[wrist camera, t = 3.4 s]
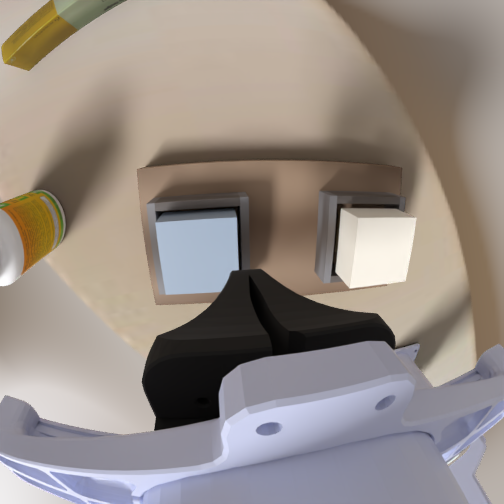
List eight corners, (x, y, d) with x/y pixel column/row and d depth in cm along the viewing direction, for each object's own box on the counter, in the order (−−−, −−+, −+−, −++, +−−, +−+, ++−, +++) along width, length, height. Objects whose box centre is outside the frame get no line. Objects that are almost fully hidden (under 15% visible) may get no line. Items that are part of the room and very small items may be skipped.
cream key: (387, 267, 19) (405, 281, 17) (335, 272, 18) (349, 288, 16) (396, 208, 17) (416, 217, 15) (340, 208, 17) (358, 217, 15)
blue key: (236, 273, 18) (239, 290, 16) (171, 277, 18) (165, 294, 16) (234, 207, 17) (236, 217, 15) (163, 212, 16) (155, 222, 14)
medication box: (136, -25, 12) (124, -48, 8) (146, -9, 13) (134, -33, 9) (23, 54, 12) (-2, 46, 9) (28, 73, 13) (1, 66, 10)
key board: (376, 275, 24) (398, 296, 20) (160, 292, 22) (150, 319, 18) (388, 165, 20) (417, 170, 16) (144, 167, 18) (127, 172, 14)
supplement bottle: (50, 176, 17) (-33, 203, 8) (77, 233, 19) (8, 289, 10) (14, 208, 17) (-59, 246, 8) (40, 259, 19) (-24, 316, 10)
